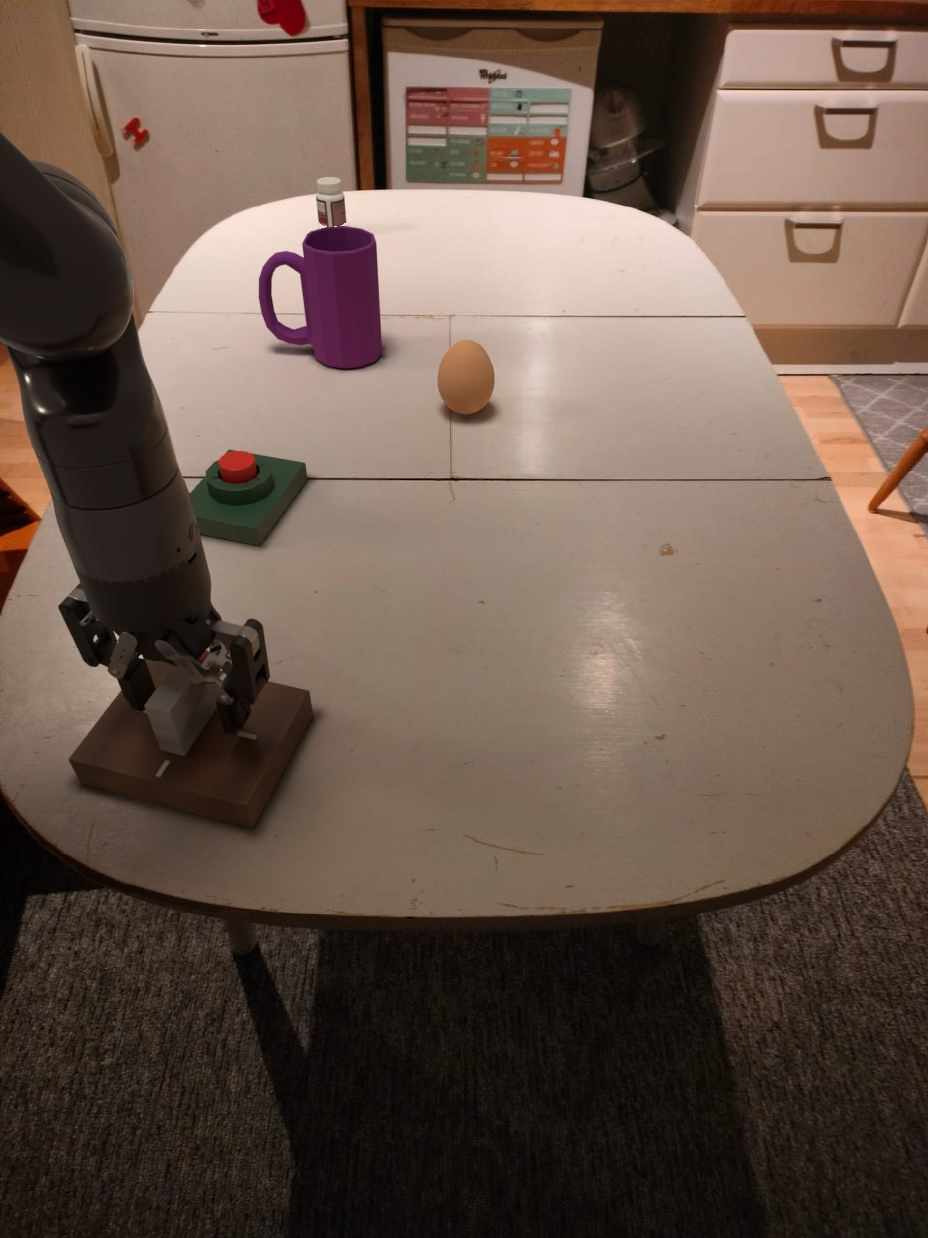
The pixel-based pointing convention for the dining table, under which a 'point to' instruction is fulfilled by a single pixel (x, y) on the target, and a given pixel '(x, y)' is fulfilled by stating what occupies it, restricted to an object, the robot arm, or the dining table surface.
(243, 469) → the red push button
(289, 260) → the mug
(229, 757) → the panel
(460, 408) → the egg
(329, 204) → the pill bottle
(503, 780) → the dining table surface
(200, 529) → the switch
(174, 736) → the tap handle
